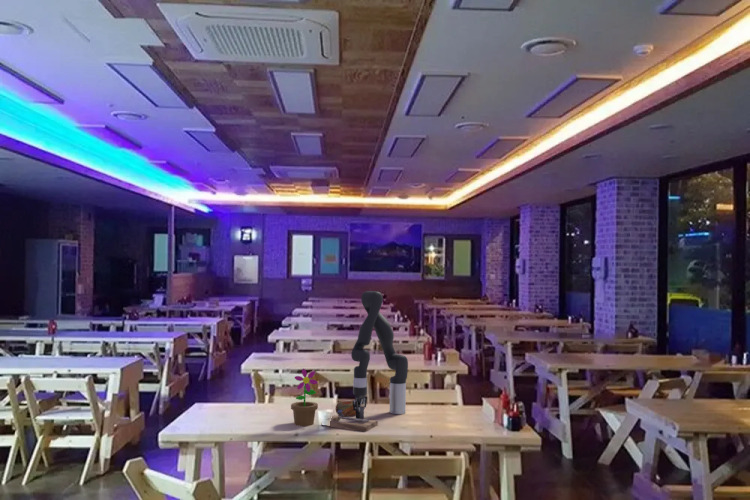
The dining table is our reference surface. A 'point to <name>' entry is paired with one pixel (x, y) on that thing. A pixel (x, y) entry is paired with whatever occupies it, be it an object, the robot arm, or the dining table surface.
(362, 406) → the spool
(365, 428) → the framed panel with rod
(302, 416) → the flowerpot
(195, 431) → the dining table surface
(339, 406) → the tin
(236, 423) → the dining table surface
